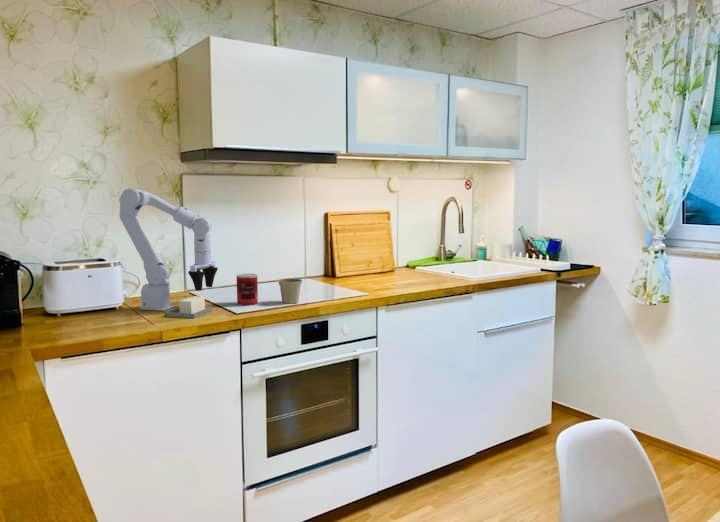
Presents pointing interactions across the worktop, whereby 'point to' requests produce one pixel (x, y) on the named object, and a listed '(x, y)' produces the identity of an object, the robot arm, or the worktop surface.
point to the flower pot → (290, 290)
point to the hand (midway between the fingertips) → (204, 288)
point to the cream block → (192, 304)
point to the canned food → (247, 289)
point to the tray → (186, 315)
